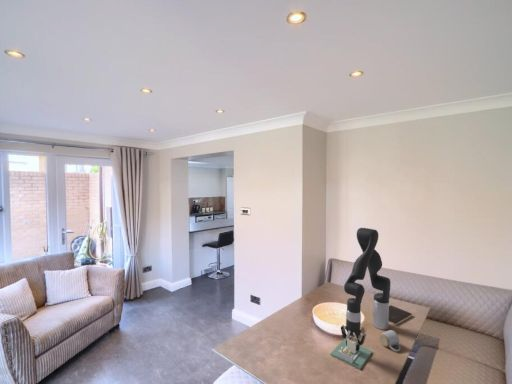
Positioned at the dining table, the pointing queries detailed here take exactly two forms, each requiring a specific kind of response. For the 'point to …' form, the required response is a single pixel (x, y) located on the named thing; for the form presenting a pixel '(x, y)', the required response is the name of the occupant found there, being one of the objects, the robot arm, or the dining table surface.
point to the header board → (358, 360)
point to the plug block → (351, 344)
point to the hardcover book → (397, 315)
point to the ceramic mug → (390, 339)
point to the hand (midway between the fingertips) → (352, 348)
